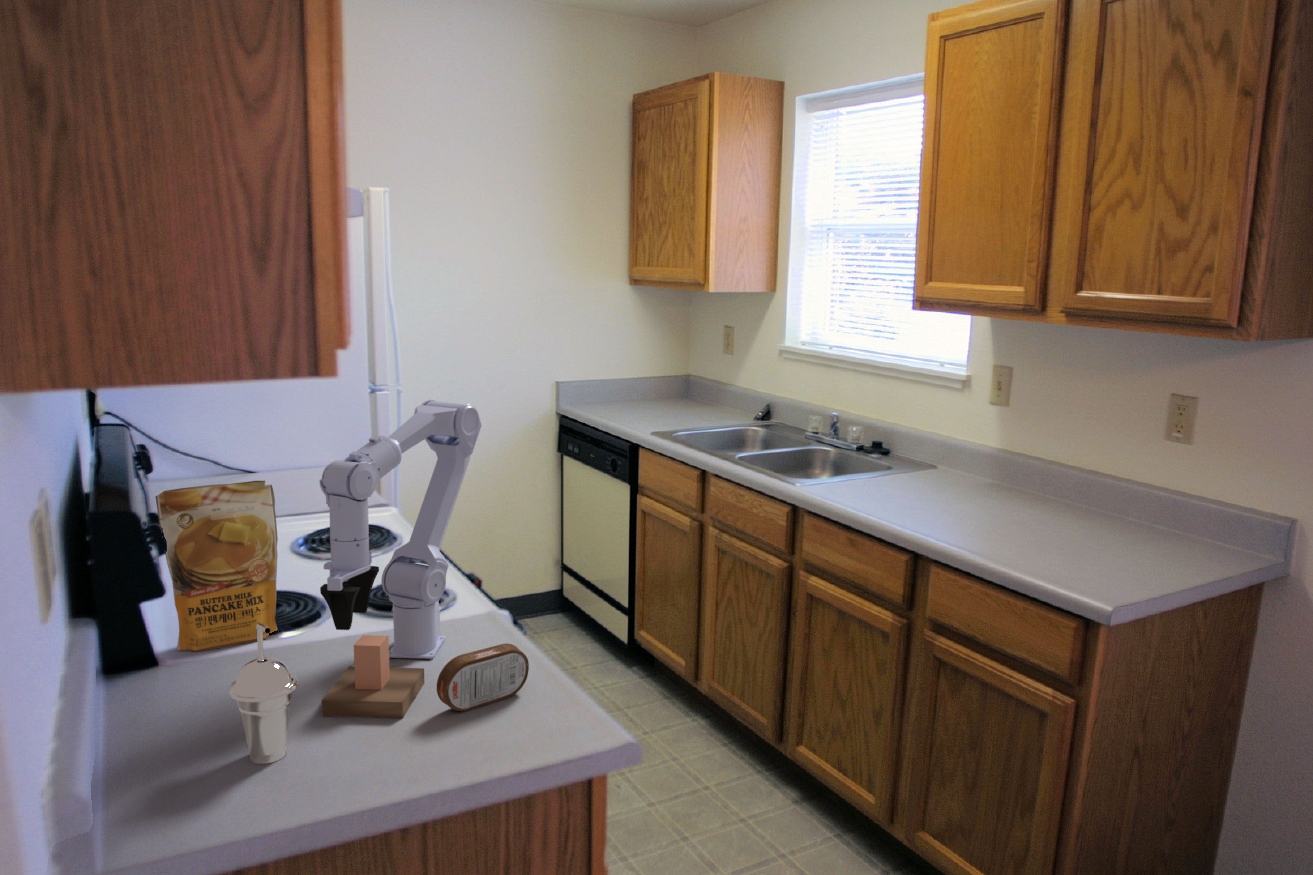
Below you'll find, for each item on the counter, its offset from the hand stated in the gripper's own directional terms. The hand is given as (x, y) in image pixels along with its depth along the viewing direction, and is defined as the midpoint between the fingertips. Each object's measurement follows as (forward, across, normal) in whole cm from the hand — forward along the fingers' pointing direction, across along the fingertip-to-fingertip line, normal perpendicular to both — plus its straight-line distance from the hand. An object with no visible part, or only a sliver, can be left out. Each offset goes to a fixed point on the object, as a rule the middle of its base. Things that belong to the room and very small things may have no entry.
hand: (351, 620), depth 150 cm
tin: (+11, +5, +22) cm, 25 cm away
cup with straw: (+11, +23, -4) cm, 26 cm away
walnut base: (+10, +5, +5) cm, 13 cm away
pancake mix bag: (+11, -16, -28) cm, 34 cm away
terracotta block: (+8, +5, +5) cm, 11 cm away
